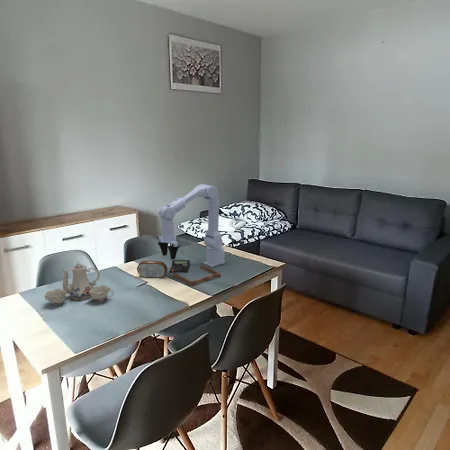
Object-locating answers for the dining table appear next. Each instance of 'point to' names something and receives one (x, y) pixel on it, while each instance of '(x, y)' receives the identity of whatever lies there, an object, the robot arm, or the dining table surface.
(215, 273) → the brown angled flat piece
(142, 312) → the dining table surface
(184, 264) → the calculator
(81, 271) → the chinaware
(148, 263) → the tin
